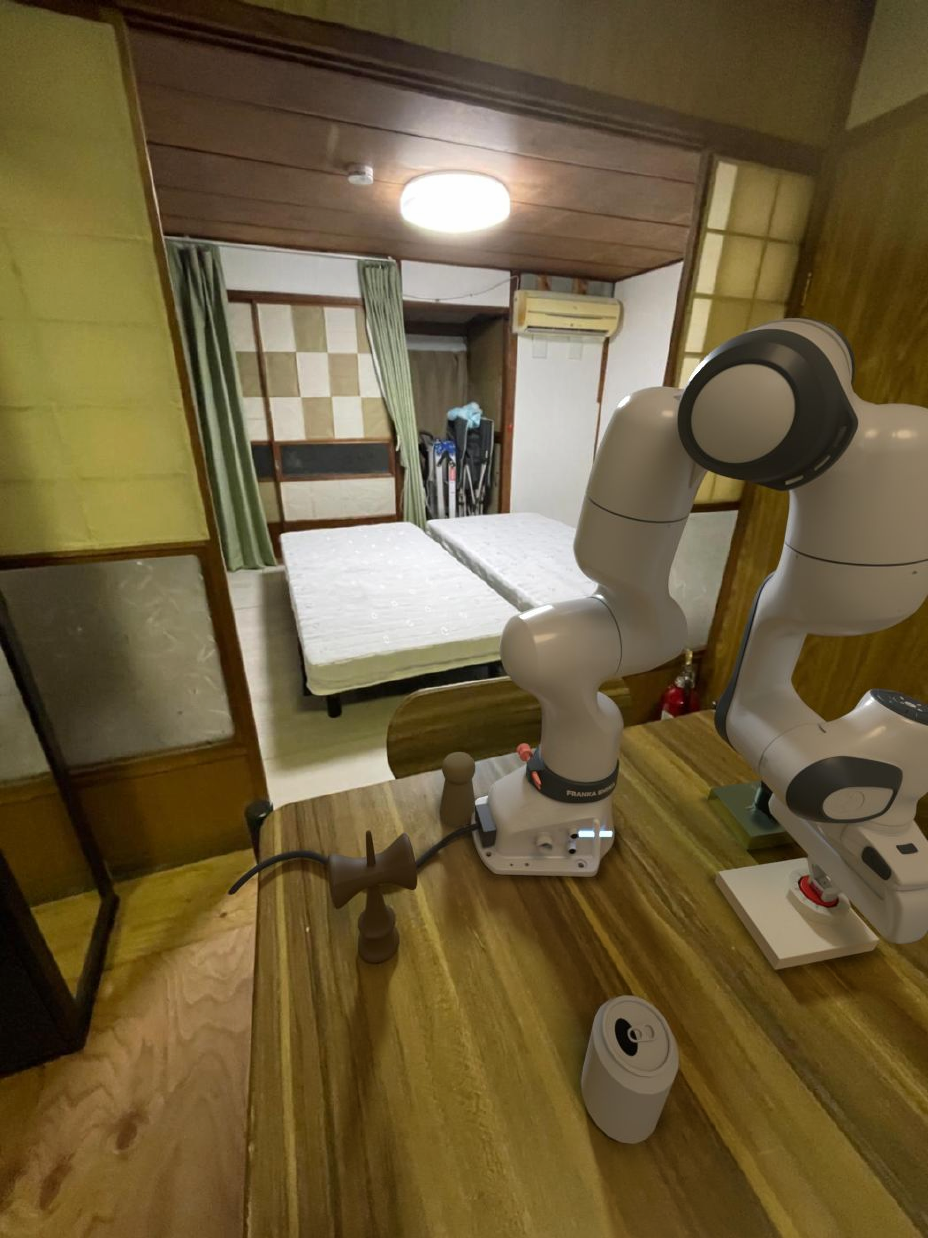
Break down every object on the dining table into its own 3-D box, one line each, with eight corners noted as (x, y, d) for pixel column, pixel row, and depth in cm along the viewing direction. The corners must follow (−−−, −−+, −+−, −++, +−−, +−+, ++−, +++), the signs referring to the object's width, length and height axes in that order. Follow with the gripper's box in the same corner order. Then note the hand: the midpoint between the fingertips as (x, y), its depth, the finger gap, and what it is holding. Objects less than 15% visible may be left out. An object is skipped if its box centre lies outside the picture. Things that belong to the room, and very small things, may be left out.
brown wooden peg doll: (473, 829, 80) (475, 775, 76) (435, 823, 81) (435, 770, 76) (478, 800, 86) (481, 748, 81) (443, 795, 87) (443, 743, 82)
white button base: (774, 970, 62) (784, 950, 60) (714, 882, 72) (721, 862, 71) (873, 950, 64) (885, 930, 62) (801, 867, 75) (809, 848, 73)
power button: (812, 915, 66) (817, 906, 65) (790, 887, 69) (793, 879, 68) (839, 910, 66) (844, 902, 66) (815, 883, 70) (820, 874, 69)
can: (571, 1055, 54) (584, 989, 49) (639, 1048, 55) (660, 983, 49) (593, 1152, 47) (611, 1089, 42) (671, 1144, 48) (699, 1080, 43)
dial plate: (746, 850, 77) (751, 835, 76) (707, 800, 86) (711, 786, 85) (815, 839, 79) (822, 825, 78) (770, 792, 88) (775, 778, 87)
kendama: (422, 956, 63) (418, 841, 54) (342, 982, 60) (324, 865, 51) (411, 911, 68) (406, 800, 59) (337, 934, 65) (320, 820, 56)
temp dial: (790, 807, 81) (797, 789, 79) (777, 820, 79) (784, 802, 77) (762, 790, 84) (768, 772, 83) (749, 802, 82) (755, 784, 80)
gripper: (772, 758, 69) (746, 831, 75) (915, 896, 51) (866, 977, 57) (813, 753, 70) (784, 825, 76) (967, 887, 52) (913, 968, 58)
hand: (820, 892), depth 67 cm, fingers closed, pressing on power button
